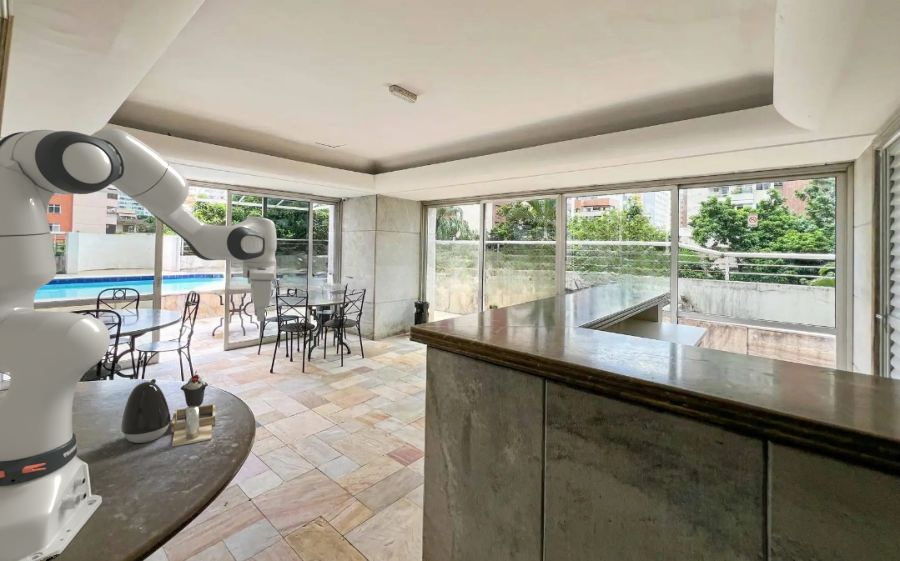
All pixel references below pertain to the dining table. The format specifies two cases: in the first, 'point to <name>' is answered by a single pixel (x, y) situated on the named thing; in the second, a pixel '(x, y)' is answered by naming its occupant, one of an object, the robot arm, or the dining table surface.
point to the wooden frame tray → (192, 425)
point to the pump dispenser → (145, 413)
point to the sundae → (194, 391)
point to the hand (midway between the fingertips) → (259, 318)
